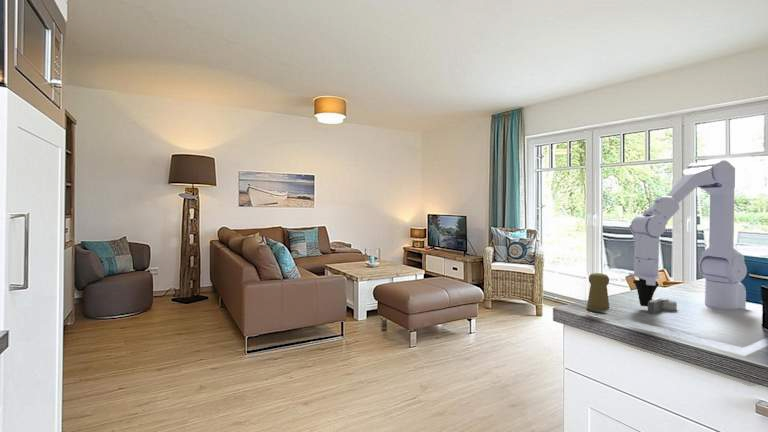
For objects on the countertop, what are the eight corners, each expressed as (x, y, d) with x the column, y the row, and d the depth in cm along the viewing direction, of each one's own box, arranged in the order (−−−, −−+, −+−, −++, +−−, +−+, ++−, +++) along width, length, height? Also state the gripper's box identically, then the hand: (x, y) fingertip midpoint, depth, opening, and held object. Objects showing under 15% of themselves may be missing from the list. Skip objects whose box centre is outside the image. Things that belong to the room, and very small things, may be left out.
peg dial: (655, 304, 116) (656, 293, 116) (679, 308, 112) (680, 297, 111) (638, 310, 109) (638, 298, 109) (663, 315, 104) (663, 303, 104)
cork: (613, 314, 110) (614, 275, 110) (590, 313, 111) (591, 275, 111) (605, 309, 116) (606, 272, 116) (583, 307, 117) (584, 271, 117)
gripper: (625, 254, 118) (624, 299, 119) (633, 260, 105) (632, 310, 105) (653, 255, 115) (652, 301, 116) (665, 262, 102) (664, 313, 103)
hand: (645, 306), depth 110 cm, fingers closed
